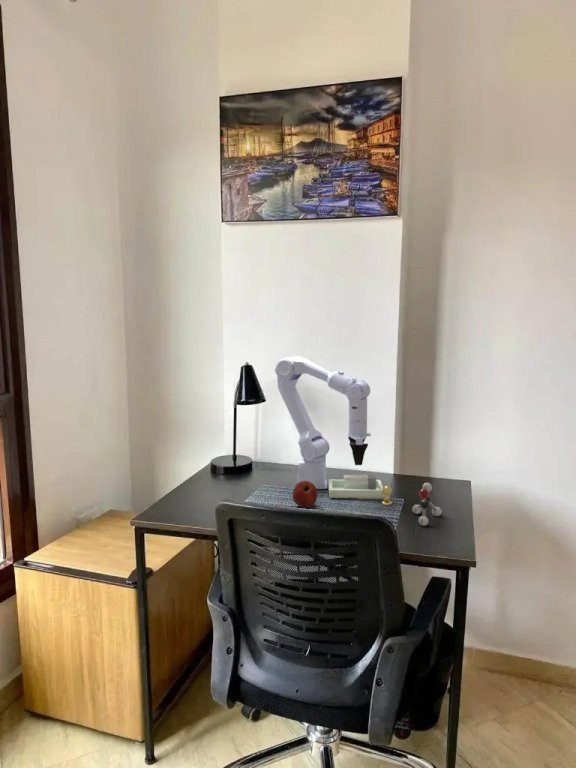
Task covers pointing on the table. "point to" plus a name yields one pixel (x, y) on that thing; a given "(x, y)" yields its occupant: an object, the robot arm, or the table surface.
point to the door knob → (386, 495)
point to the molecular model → (425, 504)
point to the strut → (360, 482)
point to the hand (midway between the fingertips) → (357, 461)
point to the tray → (354, 491)
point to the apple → (305, 494)
